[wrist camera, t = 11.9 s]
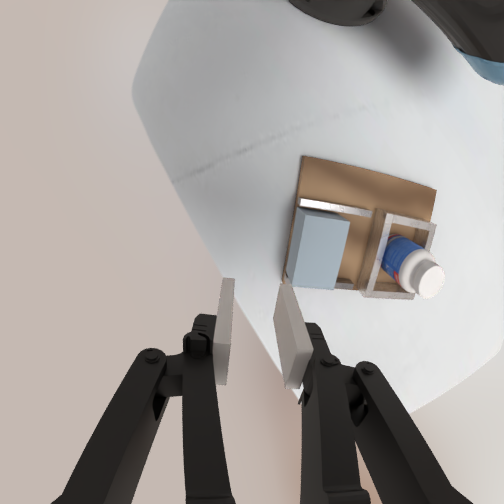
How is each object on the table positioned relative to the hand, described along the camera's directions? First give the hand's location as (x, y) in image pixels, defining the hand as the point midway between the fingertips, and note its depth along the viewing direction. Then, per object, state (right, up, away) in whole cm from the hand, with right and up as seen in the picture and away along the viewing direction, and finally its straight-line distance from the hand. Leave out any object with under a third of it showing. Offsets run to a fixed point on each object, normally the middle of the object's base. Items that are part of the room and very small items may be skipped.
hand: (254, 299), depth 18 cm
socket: (+19, +3, +16) cm, 25 cm away
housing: (+7, +4, +15) cm, 17 cm away
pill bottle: (+19, +3, +16) cm, 25 cm away
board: (+15, +6, +16) cm, 22 cm away
